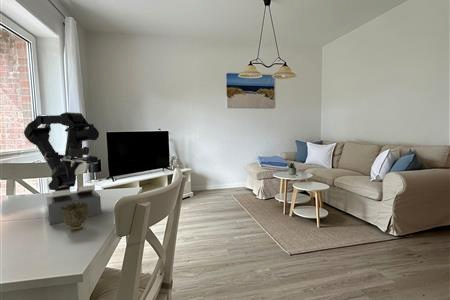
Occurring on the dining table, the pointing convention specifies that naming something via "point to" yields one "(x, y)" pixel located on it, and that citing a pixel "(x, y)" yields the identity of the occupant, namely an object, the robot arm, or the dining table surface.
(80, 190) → the block
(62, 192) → the block
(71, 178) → the robot arm
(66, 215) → the cup
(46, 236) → the dining table surface
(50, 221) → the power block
